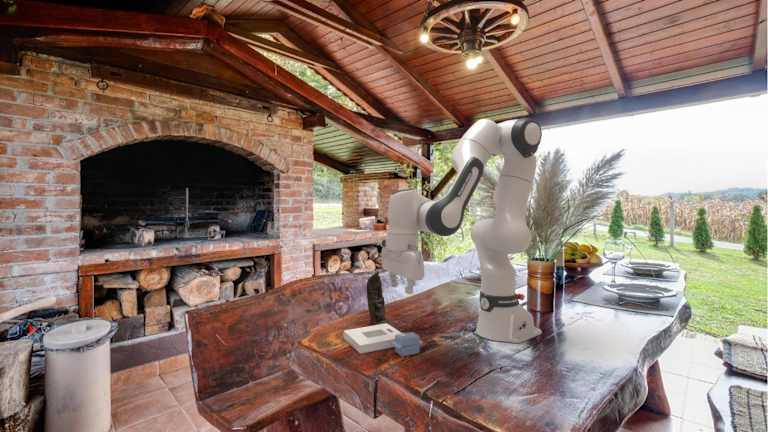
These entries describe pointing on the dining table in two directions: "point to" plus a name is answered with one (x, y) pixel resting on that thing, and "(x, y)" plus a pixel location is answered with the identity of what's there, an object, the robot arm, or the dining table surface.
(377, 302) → the statue
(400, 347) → the servo
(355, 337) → the frame
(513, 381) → the dining table surface
